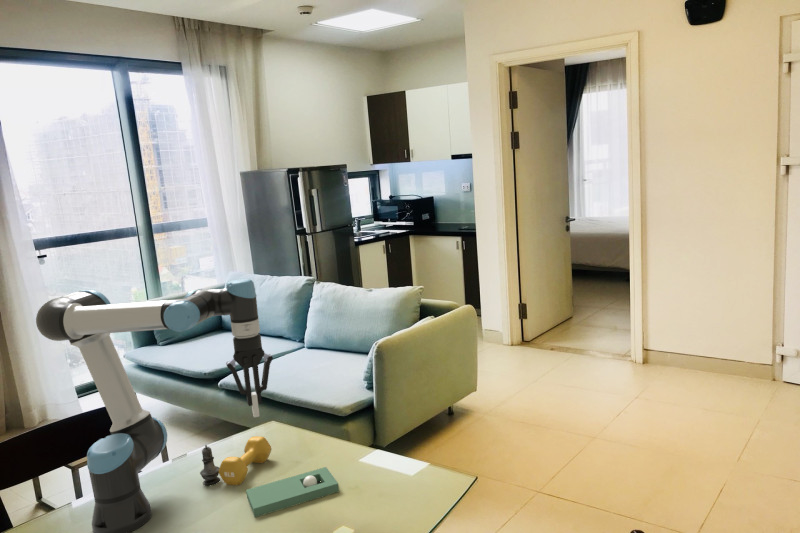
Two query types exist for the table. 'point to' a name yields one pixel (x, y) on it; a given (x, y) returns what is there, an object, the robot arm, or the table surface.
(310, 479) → the ball
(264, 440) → the dumbbell
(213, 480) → the dark grey chess piece
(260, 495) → the green
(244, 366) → the robot arm
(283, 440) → the table surface
